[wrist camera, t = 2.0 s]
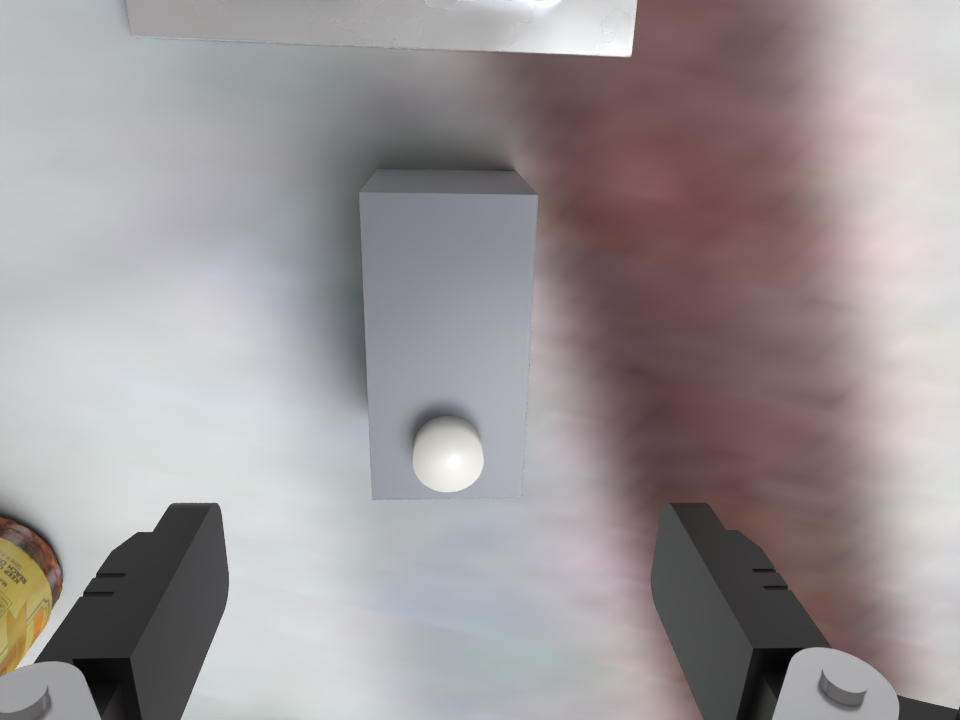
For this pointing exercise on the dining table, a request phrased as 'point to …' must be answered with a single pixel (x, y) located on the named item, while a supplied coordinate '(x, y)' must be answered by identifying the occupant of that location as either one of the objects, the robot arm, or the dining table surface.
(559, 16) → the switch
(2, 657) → the sauce bottle
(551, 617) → the dining table surface
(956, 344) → the dining table surface
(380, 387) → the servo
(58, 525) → the dining table surface
